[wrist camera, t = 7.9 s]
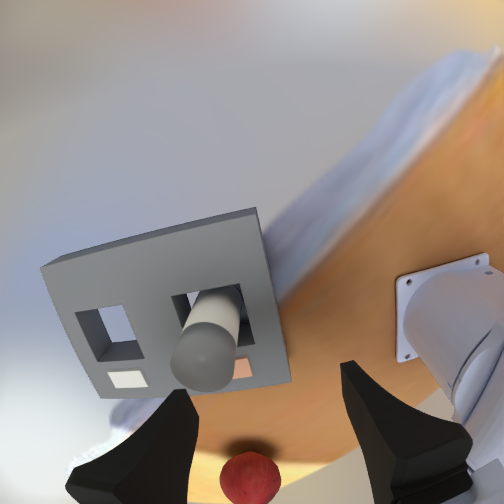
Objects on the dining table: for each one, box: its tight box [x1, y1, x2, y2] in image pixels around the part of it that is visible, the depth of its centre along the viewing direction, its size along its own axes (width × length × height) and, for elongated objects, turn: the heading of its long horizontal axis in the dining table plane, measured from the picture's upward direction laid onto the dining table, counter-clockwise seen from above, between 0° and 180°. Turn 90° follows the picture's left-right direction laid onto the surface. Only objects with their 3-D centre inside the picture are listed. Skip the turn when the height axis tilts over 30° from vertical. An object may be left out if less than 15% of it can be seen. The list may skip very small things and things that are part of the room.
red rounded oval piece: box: [220, 451, 281, 504], centre depth 23 cm, size 6×6×8 cm
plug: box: [170, 285, 242, 392], centre depth 18 cm, size 3×3×8 cm
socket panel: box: [40, 207, 292, 399], centre depth 21 cm, size 16×12×3 cm
